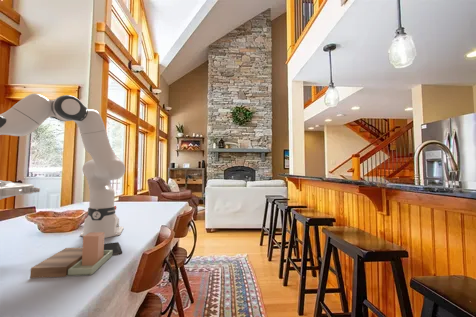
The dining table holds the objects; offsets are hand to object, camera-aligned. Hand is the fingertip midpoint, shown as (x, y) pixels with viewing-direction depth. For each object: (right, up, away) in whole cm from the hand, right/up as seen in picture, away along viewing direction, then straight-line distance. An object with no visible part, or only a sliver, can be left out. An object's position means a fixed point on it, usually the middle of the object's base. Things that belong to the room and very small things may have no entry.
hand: (30, 191), depth 91 cm
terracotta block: (+27, -25, -6) cm, 37 cm away
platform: (+19, -25, -7) cm, 32 cm away
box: (+27, -25, -6) cm, 38 cm away
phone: (+25, -27, +9) cm, 38 cm away
